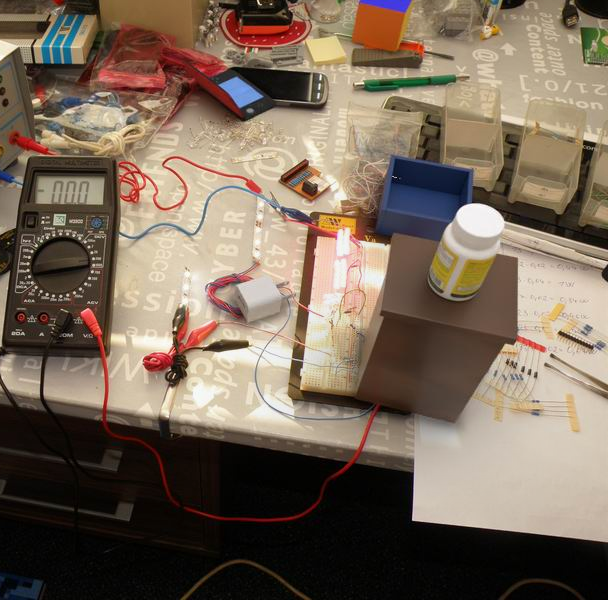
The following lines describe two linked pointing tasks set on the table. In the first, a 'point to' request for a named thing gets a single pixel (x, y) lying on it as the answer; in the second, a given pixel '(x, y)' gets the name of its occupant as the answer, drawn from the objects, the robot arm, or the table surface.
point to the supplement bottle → (466, 252)
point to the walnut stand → (434, 334)
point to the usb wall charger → (260, 297)
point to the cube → (382, 23)
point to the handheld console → (233, 92)
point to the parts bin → (422, 197)
